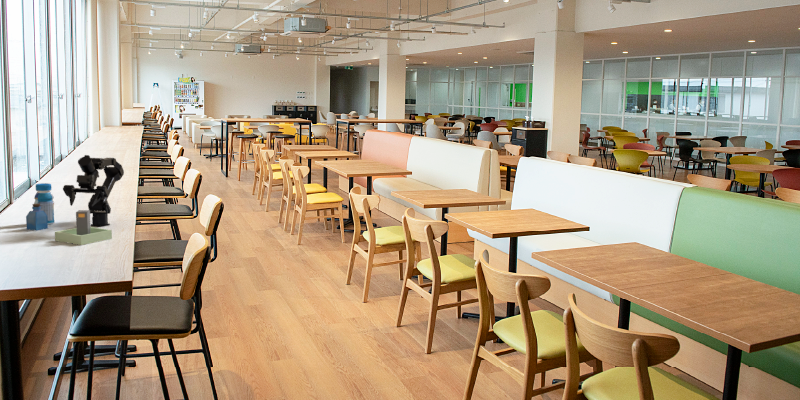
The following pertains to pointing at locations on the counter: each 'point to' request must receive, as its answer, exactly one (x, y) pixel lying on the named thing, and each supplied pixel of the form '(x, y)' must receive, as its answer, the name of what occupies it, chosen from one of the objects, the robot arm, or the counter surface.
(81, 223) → the grey square pillar
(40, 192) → the beverage bottle
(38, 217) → the perfume bottle
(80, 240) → the pale green tray
